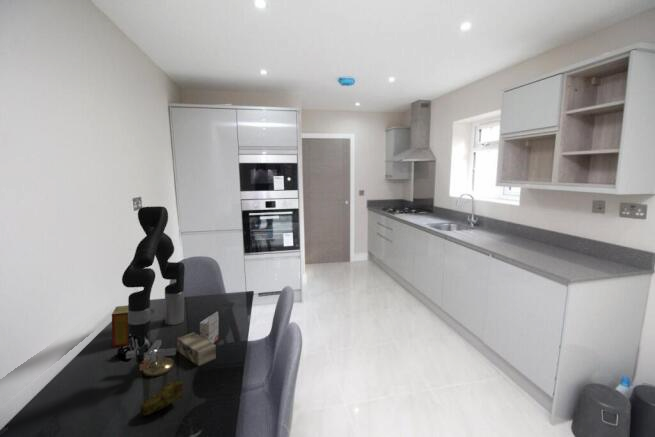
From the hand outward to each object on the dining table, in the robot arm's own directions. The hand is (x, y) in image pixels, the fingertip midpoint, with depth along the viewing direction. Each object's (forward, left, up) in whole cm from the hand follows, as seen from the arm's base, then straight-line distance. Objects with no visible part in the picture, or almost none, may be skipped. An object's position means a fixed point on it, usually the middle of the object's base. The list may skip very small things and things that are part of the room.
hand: (139, 361), depth 117 cm
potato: (+23, -2, -7) cm, 24 cm away
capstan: (-2, +5, -7) cm, 9 cm away
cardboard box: (+1, +23, -7) cm, 24 cm away
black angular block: (-20, +2, -8) cm, 22 cm away
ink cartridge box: (-4, +32, -7) cm, 33 cm away
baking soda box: (-35, +6, -7) cm, 37 cm away
